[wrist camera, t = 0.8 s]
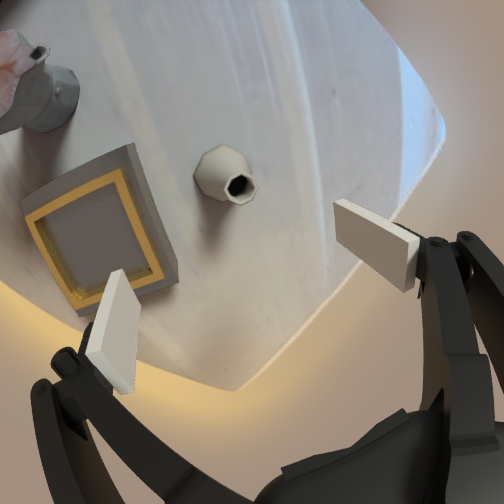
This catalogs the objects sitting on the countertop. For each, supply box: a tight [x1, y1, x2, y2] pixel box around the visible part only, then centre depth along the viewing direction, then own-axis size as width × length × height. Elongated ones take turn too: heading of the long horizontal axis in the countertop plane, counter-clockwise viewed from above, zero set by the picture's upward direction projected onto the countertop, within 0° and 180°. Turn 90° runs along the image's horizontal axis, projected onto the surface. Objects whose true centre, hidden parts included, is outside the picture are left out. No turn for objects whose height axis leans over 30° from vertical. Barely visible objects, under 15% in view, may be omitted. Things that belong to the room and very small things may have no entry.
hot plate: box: [18, 143, 179, 317], centre depth 29 cm, size 19×15×8 cm
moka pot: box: [0, 29, 80, 135], centre depth 14 cm, size 10×15×20 cm, turn 98°
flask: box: [193, 144, 259, 206], centre depth 29 cm, size 7×7×10 cm
